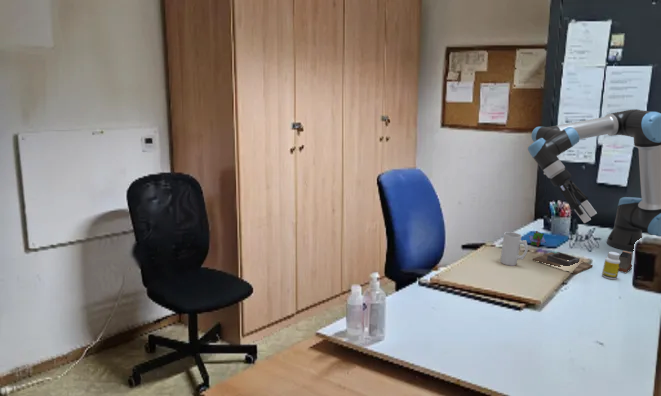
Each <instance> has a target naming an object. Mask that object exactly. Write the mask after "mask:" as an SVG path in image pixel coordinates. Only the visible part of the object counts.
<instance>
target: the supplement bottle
mask: <svg viewBox="0 0 661 396" xmlns="http://www.w3.org/2000/svg"><path fill="white" fill-rule="evenodd" d="M620 255H621V253H618V252H616V251H609V252H608V253H607V257H605V258H604V264H603V267H602V271H601V272H602V273H601V276H602V277H603V278H605V279H608V280H617V279H618V277H619V276H618V275H619V266H620V260H619V256H620Z"/></svg>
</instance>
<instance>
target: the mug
mask: <svg viewBox="0 0 661 396" xmlns="http://www.w3.org/2000/svg"><path fill="white" fill-rule="evenodd" d="M522 237H523V236H522V234H520V233H517V232H512V231H505V232H504V233H503V237H502V238H503V239H502V247H501V255H500V263H501V264H503V265H505V266H516V265H517V264H518V260H524V258H525V257H526V255H527V254H528V249H529V248H528V247H529V246H528V242H527V240H526V239H525V240H524V239H523V240H522ZM521 244H522V245H523V246H524V252H523V253H522V254H521V255H519V252H520V246H521Z"/></svg>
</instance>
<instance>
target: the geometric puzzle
mask: <svg viewBox="0 0 661 396" xmlns="http://www.w3.org/2000/svg"><path fill="white" fill-rule="evenodd" d="M545 236H546V235H545V233H543V232H542V233H541V232H540V231H538V230H536V231H535V232H533V233H532V235H528V239H529V242H530V243H529V244H530V245H532V246H534V247H536V248H539V247H540V246H541V245H542V244H543V245H544V244H545V243H546V238H545ZM546 244H547V243H546Z"/></svg>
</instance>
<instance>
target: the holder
mask: <svg viewBox="0 0 661 396" xmlns="http://www.w3.org/2000/svg"><path fill="white" fill-rule="evenodd" d="M533 260H535V261H534V262H536V261H539V262H543V263H546V264H550V265H554V266H558V267H561V266H560V265H563V266H570V265H573V264H575V263H578V262H579V261H580V258H579V257H577V256H573V255H570V254H568V253H567V254H566V253H563V252H559V251H557V252H548V253H545V254H542V255H538V256H535V257H533V258H532V261H533ZM567 260H569V261H567ZM539 262H538V263H539ZM582 262H583V261H582ZM592 268H594V265H593V264H590V263H587V262H583V263H581V264H580V265H579V266H578V267H577V268H576V269H575V270H574V271H573V274H572V275H576V274H579V273H582V272H584V271H587V270H589V269H592Z"/></svg>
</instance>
